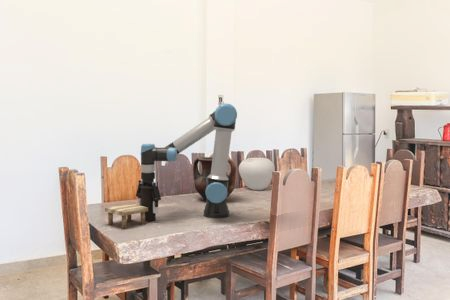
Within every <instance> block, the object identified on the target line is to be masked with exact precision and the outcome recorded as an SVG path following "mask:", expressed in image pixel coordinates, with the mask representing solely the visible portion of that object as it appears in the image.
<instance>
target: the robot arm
mask: <svg viewBox="0 0 450 300" xmlns="http://www.w3.org/2000/svg"><path fill="white" fill-rule="evenodd" d="M208 115H209V116H208V118H206V119H204V120H203V121H201V122H200V123H199V124H198V125H196V126H194V127H193V128H192V129H190V130H189V131H187V132H185V133H184V134H182V135H181V136H180V137H178V138H177V139H175V140H173V141H172V142H171V143H169V144H168V145H166V146H165V147H156V145H155V144H154V143H142V144H141V146H140V147H141V148H140V172H141V173H140V179H139V180H138V185H137V189H136V193H135V197H137V198H138V205H140V206H141V188H140V186H141V185H147V186H153V189H154V190H151V194H152V197H153V199H154V201H153V213H156V214H157V213H158V211H159V201H161V200H162V197H161V193H160V188H159V182H157V181H154V180H155V179H156V172H155V171H156V165H155V164H156V162H170V163H171V162H176V161H177V159H178V155H179V154H181V153H182V152H183V151H185V150H186V149H188V148H189V147H191V146H193V145H194V144H195V143H197V142H198V141H200V140H202V139H203V138H205V136H208V135H209V134H211V133H212V132H214V131H215V135H214V136H215V137H214V141H213V143H214V145H213V151H212V157H213V159H212V167H211V174H210V175H209V176H208V177H207V180H206V182H207V186H206V191H205V194H206V197H207V202H206V201H205V206H204V209H203V216H204V217H205V218H209V219H221V218H227V217H229V216H230V210H229V206H228V203H227V201H226V198H227V199H228V197H227V188H228V180H229V179H228V178H227V176H226V173H227V174H228V165H229V163H228V158H230V157H229V155H230V148H231V141H232V140H231V139H232V133H233V132H234V131H235V130H236V121H237V119H238V111H237V109H236V107H235V106H234V105H233V104H231V103H226V102H225V103H221V104H219V105H218V106H217V107H216V108H215V110H214V111H213V112H212V113H211V114H208Z"/></svg>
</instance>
